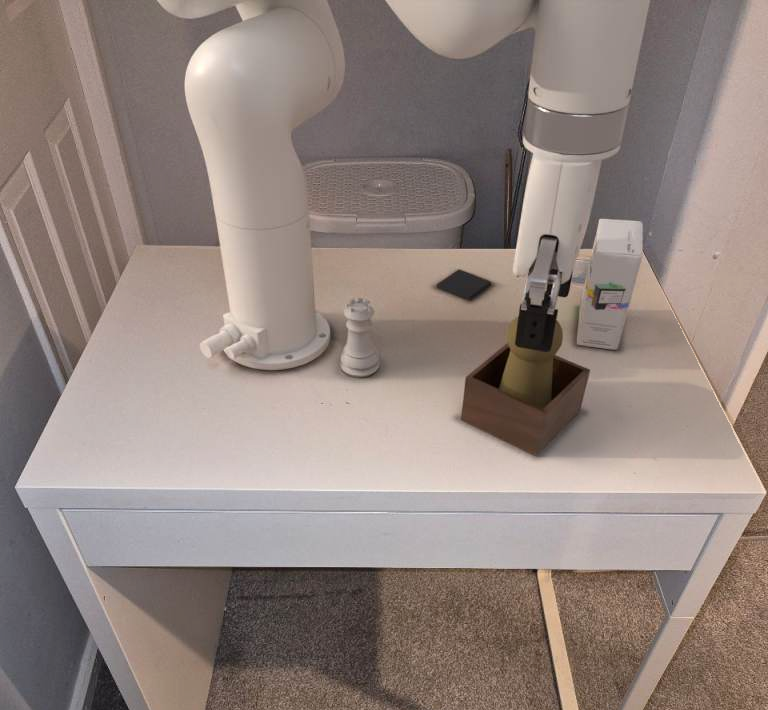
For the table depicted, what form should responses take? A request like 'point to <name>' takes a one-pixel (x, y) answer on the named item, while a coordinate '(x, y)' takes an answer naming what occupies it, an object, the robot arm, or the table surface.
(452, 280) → the rubber pad
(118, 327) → the table surface
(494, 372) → the walnut box
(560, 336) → the olive yellow pawn
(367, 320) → the rook chess piece
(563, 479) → the table surface
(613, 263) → the ink box
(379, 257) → the table surface
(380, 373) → the table surface
